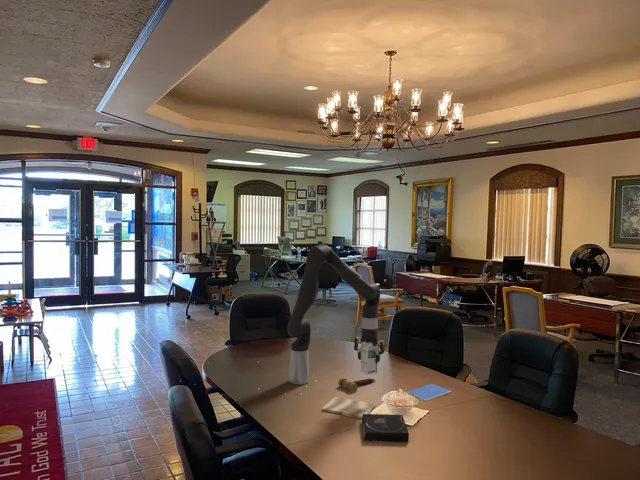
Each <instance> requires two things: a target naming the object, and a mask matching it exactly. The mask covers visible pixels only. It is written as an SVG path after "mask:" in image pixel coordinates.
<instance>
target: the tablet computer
mask: <svg viewBox="0 0 640 480" xmlns="http://www.w3.org/2000/svg"><path fill="white" fill-rule="evenodd" d="M407 392H408V393H411V394H413V395H414V396H413V397H415V398H417V399H420V400H422V401H424V402H427V401H430V400H434V399H436V398H439V397H441V396H444V395H447V394H450V393H452V391H451V390H449V389H448V388H444V387H441V386H439V385H436V384H433V383H430V384H427V385H424V386H421V387H418V388H415V389H412V390H409V391H407Z"/></svg>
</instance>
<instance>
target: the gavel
mask: <svg viewBox="0 0 640 480" xmlns="http://www.w3.org/2000/svg"><path fill="white" fill-rule="evenodd" d="M375 381H376V379H375V378H370V377H369V378H365V379H359V380H354V381H352V382H351V381H350V380H348V379H346V378H344V377H340V378H339V380H338V386H339V387H340V388H343V389H346V390H348V391H349V392H350V393H355V392H358V387H359V386H360V387H361V386H364V385H365V386H366V385H369V384H370V385H371V384H372V383H374V382H375Z"/></svg>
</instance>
